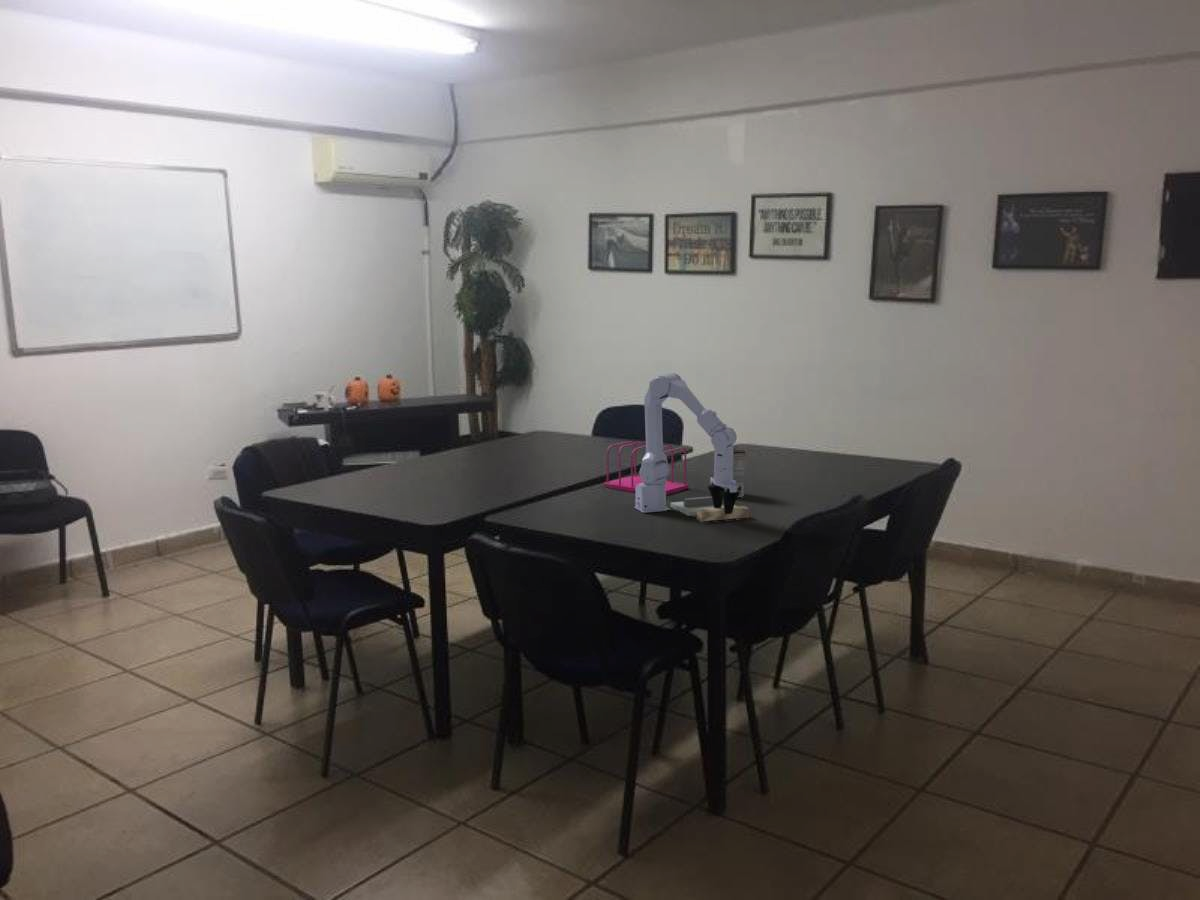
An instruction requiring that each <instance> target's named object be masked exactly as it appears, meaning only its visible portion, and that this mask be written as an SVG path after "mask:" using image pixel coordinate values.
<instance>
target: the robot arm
mask: <svg viewBox="0 0 1200 900" xmlns="http://www.w3.org/2000/svg"><path fill="white" fill-rule="evenodd" d="M648 383H649V387H648V389H647V390H646V393H645V395H644V424H645V425H644V426H645V431H644V432H645V442H646V445H645V446H646V447H645V454H644V456H643V457H642V459H641V466H640V469H639V471H638V473H639V476H640V477H641V479H642V480H643V483H640V484H637V485H636V489H635V492H634V493H635V497H634V498H635V506H634V509H636V510H638V511H640V512H641V513H643V514H645V513H646V514H647V513H656V512H666V511H667V510H670V511H671V508H670V507H668V506H667V505H666V503H667V501H666V499H667V498H666V497H667V495H666V481H667V478H668V476H669V475H670V473H671V469H670V465H669V462H668V456H667V455H666V453H664V452H665V451H664V448H663V447H664V442H663V441H664V439H663V403H664V402H665V401H666V400H667V399H668V398H672V399H678V400H680V401H681V402H682V403H683V404H684V406H686V407H687V408H688V409H689V411H691V412H692V413H693V415H695V416H696V423H697V424H698V425H699V426H700V427H701V428H702V429H703V431H704V432H705V433H706V434H707V435H708V436H709V437H710V442H711V444H712V446H713V449H714V456H713V457H714V458H713V459H714V462H713V463H714V464H713V465H714V466H713V476H712V477H710V479H709V480H710V482H709V483H710V484H711V485H707V489H708V491H709V494H710V496H711V497H712V501H713V505H714V508H721V506H722V498H723V502H724V511H725V514H731V513H732V512H733V508H734V505H735V504H736V501H737V499H738V498H737V497H738V496H739V494H740V492H739V491H737V486H736V485H735V484H734V483H736V481H735V480H733V447H734V444H735V443H736V441H737V433H736V431H735V430H734V428H732V427H729V426H728V425H727V424H726V423H724V422H723V421H722V420H721V419H720V418H719V417H718V416H717V414H718V413H717V411H713V410H712V409H706V408H705V406H703V404H702V403H701V401H700V400H699V399H698V398H697V397H696V395H695V394H694V393H693V392H692V391H691V389H690V388H689V387H688V384H687V383H686V381H685V379H682V377H681V376H680V375H679V374H678V373H675V372H674V373H673V372H672V373H668V374H664V375H657V376H655V377H653V378H652V379H651V380H650V381H649V382H648ZM725 489H727V491H724V490H725ZM667 512H668V511H667Z"/></svg>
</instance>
